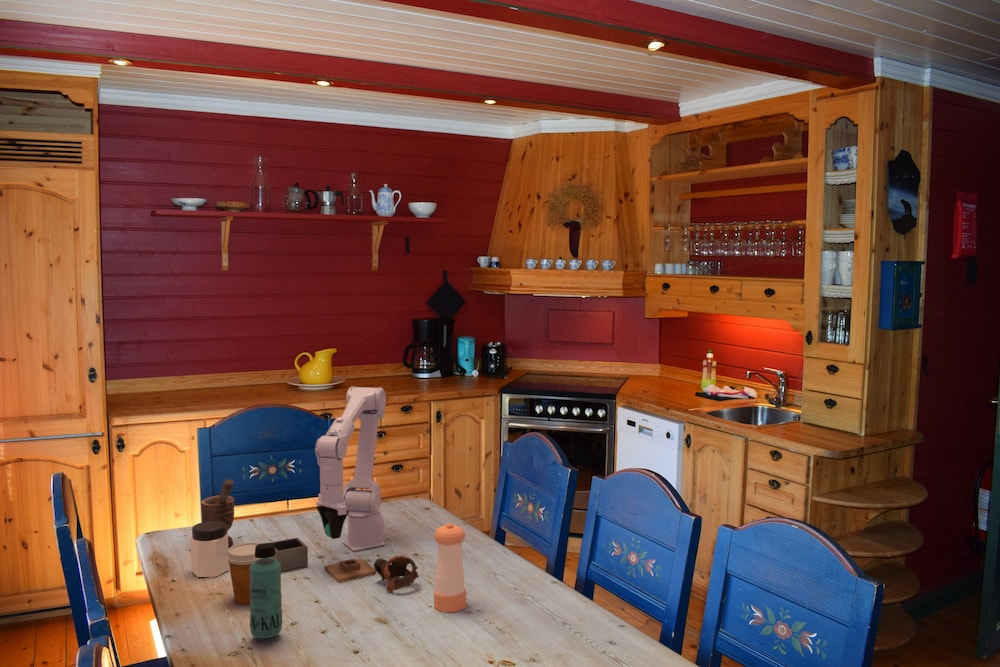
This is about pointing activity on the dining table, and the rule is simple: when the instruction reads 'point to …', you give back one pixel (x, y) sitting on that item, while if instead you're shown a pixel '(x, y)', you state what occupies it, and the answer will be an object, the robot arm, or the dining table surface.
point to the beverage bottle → (265, 593)
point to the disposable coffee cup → (241, 570)
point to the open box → (291, 554)
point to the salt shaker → (449, 569)
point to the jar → (209, 549)
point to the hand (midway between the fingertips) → (332, 535)
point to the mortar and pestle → (220, 508)
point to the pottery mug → (396, 572)
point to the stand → (349, 570)
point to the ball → (327, 530)
